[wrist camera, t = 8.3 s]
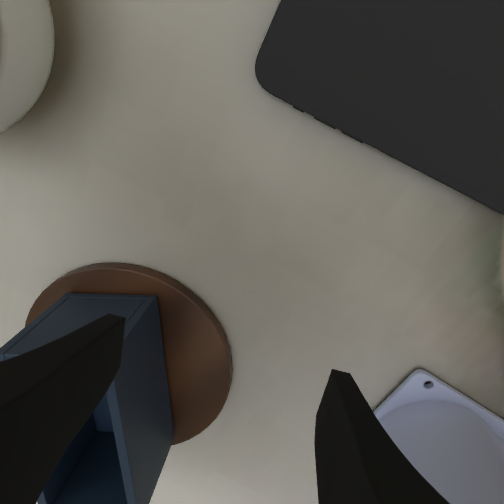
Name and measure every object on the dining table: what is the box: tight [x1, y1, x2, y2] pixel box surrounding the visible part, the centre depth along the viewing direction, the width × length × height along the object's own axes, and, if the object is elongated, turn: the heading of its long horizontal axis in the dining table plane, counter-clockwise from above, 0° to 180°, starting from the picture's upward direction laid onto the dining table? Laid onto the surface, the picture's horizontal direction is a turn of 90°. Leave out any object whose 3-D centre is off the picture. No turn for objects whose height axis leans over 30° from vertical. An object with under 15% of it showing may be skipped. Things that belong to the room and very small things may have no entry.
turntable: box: [25, 263, 232, 445], centre depth 26 cm, size 13×13×1 cm
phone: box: [255, 0, 504, 215], centre depth 18 cm, size 7×1×15 cm
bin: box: [0, 293, 175, 504], centre depth 23 cm, size 11×5×6 cm, turn 2°
